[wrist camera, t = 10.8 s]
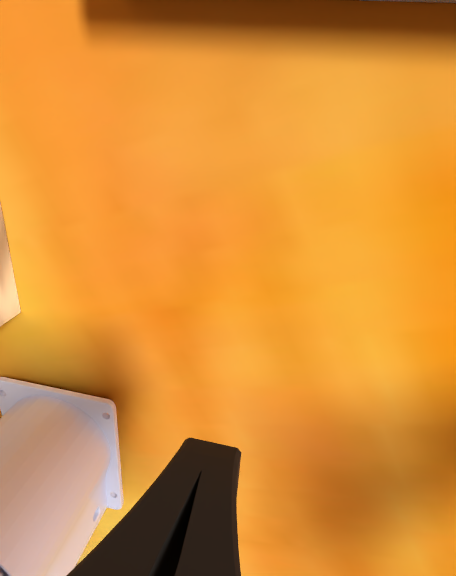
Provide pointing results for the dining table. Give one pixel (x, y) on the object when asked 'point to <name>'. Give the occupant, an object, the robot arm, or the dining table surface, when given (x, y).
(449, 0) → the gray open frame
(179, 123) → the dining table surface
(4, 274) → the board
